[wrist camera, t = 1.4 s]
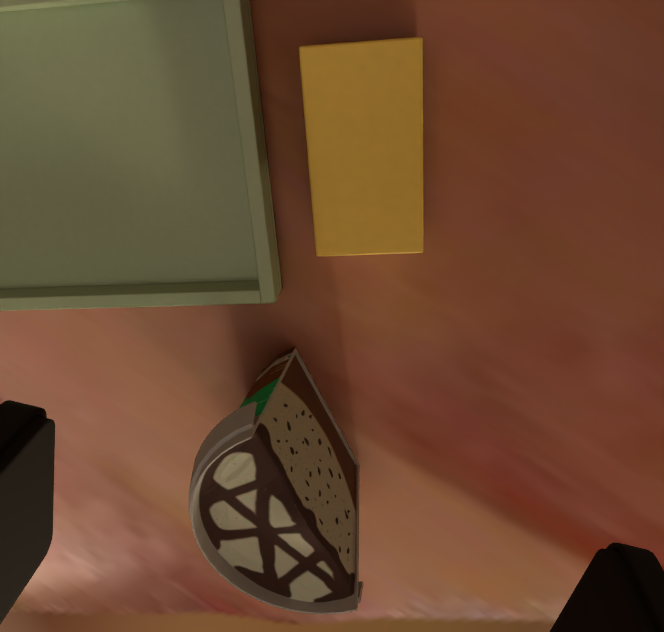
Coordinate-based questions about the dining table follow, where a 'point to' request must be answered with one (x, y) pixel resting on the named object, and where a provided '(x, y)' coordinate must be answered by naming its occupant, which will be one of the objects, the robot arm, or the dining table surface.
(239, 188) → the tray
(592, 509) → the dining table surface
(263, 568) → the food container
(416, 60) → the sponge
